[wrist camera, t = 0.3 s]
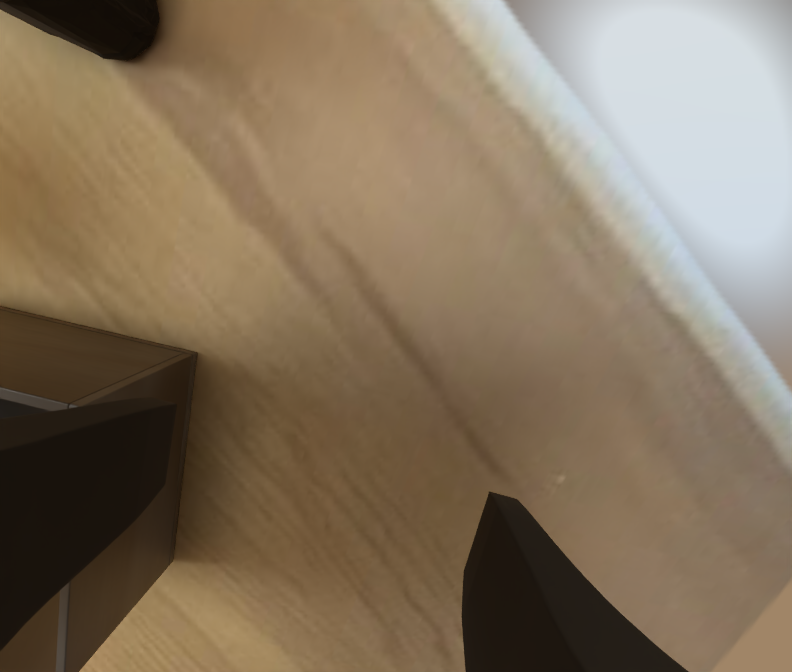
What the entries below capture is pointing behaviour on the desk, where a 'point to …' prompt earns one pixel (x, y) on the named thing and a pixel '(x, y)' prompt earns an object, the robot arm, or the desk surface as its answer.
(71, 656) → the carton
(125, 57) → the film camera
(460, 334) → the desk surface
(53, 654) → the flap
